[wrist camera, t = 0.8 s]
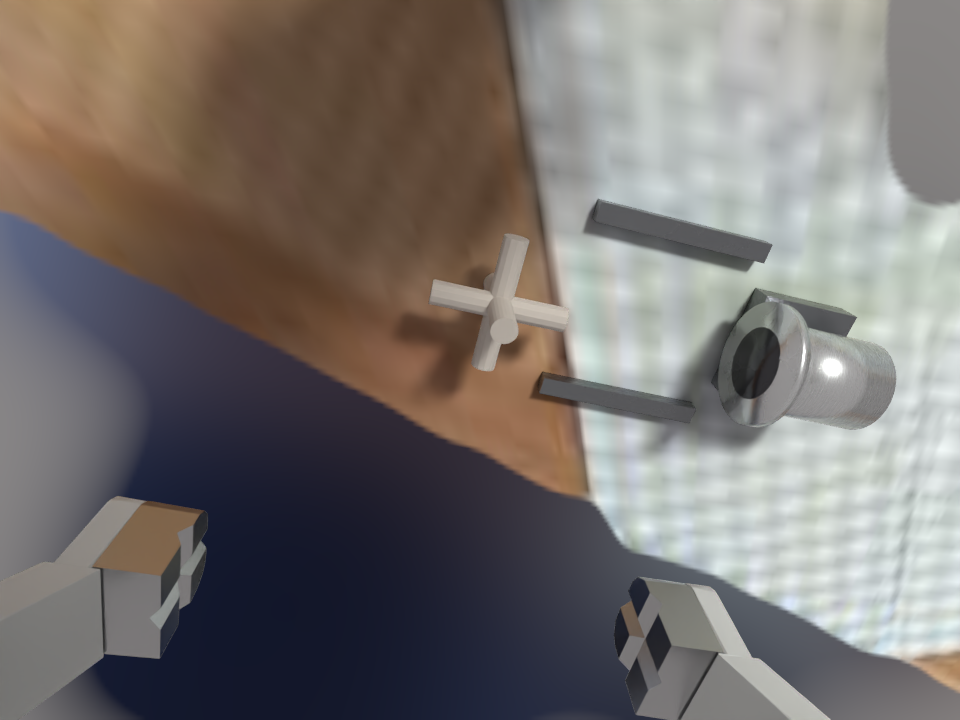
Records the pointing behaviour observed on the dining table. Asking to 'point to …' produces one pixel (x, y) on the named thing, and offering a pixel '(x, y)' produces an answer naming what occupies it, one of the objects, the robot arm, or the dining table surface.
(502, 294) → the pipe connector
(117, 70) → the dining table surface
